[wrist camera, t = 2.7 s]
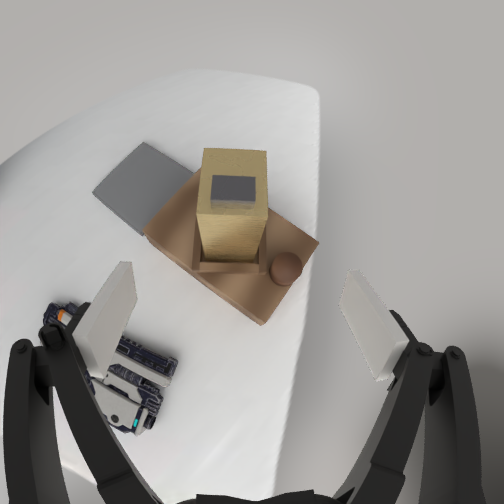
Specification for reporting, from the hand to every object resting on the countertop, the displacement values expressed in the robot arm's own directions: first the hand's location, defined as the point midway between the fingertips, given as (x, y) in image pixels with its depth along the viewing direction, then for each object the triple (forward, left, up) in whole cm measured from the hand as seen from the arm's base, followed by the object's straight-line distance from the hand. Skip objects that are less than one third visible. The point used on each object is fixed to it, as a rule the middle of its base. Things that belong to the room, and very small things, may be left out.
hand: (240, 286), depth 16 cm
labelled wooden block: (-5, +6, -12) cm, 15 cm away
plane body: (-5, +6, -16) cm, 18 cm away
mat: (-21, +6, -16) cm, 27 cm away
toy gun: (-9, -18, -17) cm, 26 cm away
